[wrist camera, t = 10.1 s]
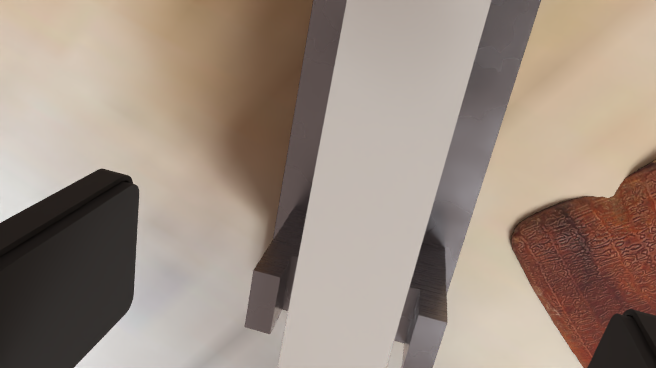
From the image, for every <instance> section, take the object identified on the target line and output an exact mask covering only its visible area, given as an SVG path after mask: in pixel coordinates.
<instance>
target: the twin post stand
mask: <svg viewBox="0 0 656 368" xmlns="http://www.w3.org/2000/svg"><path fill="white" fill-rule="evenodd" d="M540 2H541V0H491V4H490V7H489V11H488V14H487V18H486V21H485V25H484V28H483V32H482V35H481V39H480V42H479V46H478V49H477V53H476V56H475V60H474V63H473V67H472V70H471V74H470V77H469V81H468V84H467V88H466V91H465V95H464V98H463V102H462V105H461V109H460V112H459V116H458V119H457V123H456V126H455V130H454V133H453V137H452V140H451V144H450V147H449V151H448V154H447V158H446V161H445V165H444V168H443V172H442V175H441V179H440V182H439V186H438V189H437V193H436V196H435V200H434V203H433V207H432V210H431V214H430V217H429V221H428V224H427V228H426V231H425V235H424V238H423V242H422V245H421V249H420V252H419V256H418V259H417V262H416V266H415V269H414V273H413V276H412V280H411V283H410V287H409V290H408V294H407V297H406V301H405V304H404V308H403V311H402V315H401V318H400V322H399V325H398V329H397V332H396V336H395V339H394V341H398V342H402V343H404V350H403V361H402V368H433V365H434V362H435V358H436V355H437V352H438V349H439V346H440V343H441V340H442V337H443V334H444V331H445V328H446V325H447V297H446V295H447V291H448V288H449V285H450V282H451V279H452V276H453V273H454V270H455V267H456V263H457V260H458V257H459V254H460V251H461V248H462V245H463V242H464V239H465V235H466V232H467V229H468V226H469V223H470V220H471V217H472V214H473V210H474V207H475V204H476V201H477V198H478V195H479V192H480V189H481V186H482V182H483V179H484V176H485V173H486V170H487V167H488V164H489V161H490V158H491V154H492V151H493V148H494V145H495V142H496V139H497V136H498V133H499V130H500V126H501V123H502V120H503V117H504V114H505V111H506V108H507V105H508V102H509V98H510V95H511V92H512V89H513V86H514V83H515V80H516V77H517V73H518V70H519V67H520V64H521V61H522V58H523V55H524V52H525V49H526V45H527V42H528V39H529V36H530V33H531V30H532V27H533V24H534V21H535V17H536V14H537V11H538V8H539V5H540ZM346 3H347V0H313V6H312V12H311V18H310V23H309V29H308V35H307V41H306V47H305V53H304V59H303V65H302V71H301V77H300V83H299V89H298V95H297V101H296V106H295V112H294V118H293V124H292V130H291V136H290V142H289V148H288V154H287V160H286V166H285V172H284V178H283V183H282V189H281V195H280V201H279V207H278V213H277V219H276V225H275V231H274V237H273V241H272V242H271V244H270V246H269V247H268V249H267V250H266V252H265V253H264V255H263V257H262V258H261V260H260V261H259V263H258V264H257V266H256V267H255V269H254V271H253V277H252V284H251V290H250V297H249V303H248V309H247V316H246V322H245V327H246V328H250V329H254V330H257V331H261V332H264V333H268V334H270V333H271V331H272V329H273V327H274V325H275V323H276V321H277V319H278V317H279V315H280V313H281V310H282V309H283V310H286V311H288V309H289V304H290V298H291V293H292V288H293V283H294V277H295V272H296V267H297V261H298V256H299V251H300V246H301V240H302V235H303V230H304V224H305V219H306V214H307V209H308V203H309V198H310V193H311V188H312V182H313V177H314V172H315V166H316V161H317V156H318V151H319V145H320V140H321V135H322V129H323V124H324V119H325V114H326V108H327V103H328V98H329V92H330V87H331V82H332V77H333V71H334V66H335V61H336V55H337V50H338V45H339V40H340V34H341V29H342V24H343V18H344V13H345V8H346Z"/></svg>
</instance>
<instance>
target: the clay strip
mask: <svg viewBox="0 0 656 368" xmlns="http://www.w3.org/2000/svg"><path fill="white" fill-rule="evenodd" d="M490 4H491V0H347V3H346V8H345V13H344V18H343V24H342V29H341V34H340V40H339V45H338V50H337V55H336V61H335V66H334V71H333V77H332V82H331V87H330V92H329V98H328V103H327V108H326V114H325V119H324V124H323V129H322V135H321V140H320V145H319V151H318V156H317V161H316V166H315V172H314V177H313V182H312V188H311V193H310V198H309V203H308V209H307V214H306V219H305V224H304V230H303V235H302V240H301V246H300V251H299V256H298V261H297V267H296V272H295V277H294V283H293V288H292V293H291V298H290V304H289V309H288V314H287V320H286V325H285V330H284V335H283V341H282V346H281V351H280V357H279V362H278V367H277V368H386V367H387V364H388V360H389V357H390V353H391V350H392V346H393V343H394V339H395V336H396V332H397V329H398V325H399V322H400V318H401V315H402V311H403V308H404V304H405V301H406V297H407V294H408V290H409V287H410V283H411V280H412V276H413V273H414V269H415V266H416V262H417V259H418V256H419V252H420V249H421V245H422V242H423V238H424V235H425V231H426V228H427V224H428V221H429V217H430V214H431V210H432V207H433V203H434V200H435V196H436V193H437V189H438V186H439V182H440V179H441V175H442V172H443V168H444V165H445V161H446V158H447V154H448V151H449V147H450V144H451V140H452V137H453V133H454V130H455V126H456V123H457V119H458V116H459V112H460V109H461V105H462V102H463V98H464V95H465V91H466V88H467V84H468V81H469V77H470V74H471V70H472V67H473V63H474V60H475V56H476V53H477V49H478V46H479V42H480V39H481V35H482V32H483V28H484V25H485V21H486V18H487V14H488V11H489V7H490Z"/></svg>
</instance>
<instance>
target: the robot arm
mask: <svg viewBox="0 0 656 368" xmlns="http://www.w3.org/2000/svg"><path fill="white" fill-rule="evenodd" d="M138 205H139V189H138V186H137V185H135V184H133V182H132V178H131V177H130V176H128V175H124V174H121V173H117V172H113V171H109V170H105V169H99V170H97V171H95V172H93V173H91V174H89V175H88V176H86V177H84V178H82V179H80V180H78V181H77V182H75V183H73V184H71V185H69V186H67V187H66V188H64V189H62V190H60V191H58V192H56V193H55V194H53V195H51V196H49V197H47V198H45V199H43V200H42V201H40V202H38V203H36V204H34V205H32V206H31V207H29V208H27V209H25V210H23V211H21V212H20V213H18V214H16V215H14V216H12V217H10V218H8V219H7V220H5V221H3V222H1V223H0V368H74V367H75V366H76V365H77V364H78V363H79V362H80V361H81V359H82V358H83V357H84V356H85V355H86V354H87V353H88V352H89V351H90V350H91V349H92V348H93V347H94V346H95V345H96V344H97V343H98V342H99V341H100V340H101V339H102V338H103V337H104V336H105V335H106V334H107V333H108V331H109V330H110V329H111V328H112V327H113V326H114V325H115V324H116V323H117V322H118V321H119V320H120V319H121V318H122V317H123V316H124V315H125V314H126V313H127V311H128V310H129V308H130V306H131V303H132V300H133V295H134V278H135V259H136V241H137V223H138ZM587 368H656V315H652V314H648V313H644V312H641V311H637V310H633V309H628V310H626V311H625V312H624V313H623V314H622V315H621V314H618V313H617V314H614V315H613V316H612V318H611V319H610V321H609V323H608V325H607V327H606V329H605V332H604V334H603V336H602V338H601V340H600V342H599V344H598V346H597V348H596V351H595V353H594V355H593V357H592V359H591V361H590V363H589V365H588V367H587Z"/></svg>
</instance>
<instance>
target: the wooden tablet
mask: <svg viewBox="0 0 656 368" xmlns="http://www.w3.org/2000/svg"><path fill="white" fill-rule="evenodd" d="M511 243H512V249H513V251H514V252H515V255H516V257H517V259H518V260H519V262H520V264H521V266H522V268H523V270H524V272H525V274H526V276H527V278H528V280H529V282H530V284H531V286H532V288H533V289H534V291H535V293H536V295H537V296H538V298H539V299H540V301H541V303H542V304H543V306H544V307H545V309H546V311H547V312H548V314H549V315H550V317H551V319H552V321H553V323H554V324H555V326H556V327H557V328H558V330H559V331H560V333H561V335H562V336H563V338H564V339H565V341H566V342H567V344H568V345H569V347H570V349H571V350H572V352H573V353H574V354H575V355H576V357H577V358H578V360H579V362H580V363H581V365H582V366H583V367H584V368H587V367H588V365H589V363H590V361H591V359H592V357H593V355H594V353H595V351H596V348H597V346H598V344H599V342H600V340H601V338H602V336H603V334H604V332H605V329H606V327H607V325H608V323H609V321H610V319H611V318H612V316H613V315H614V314H617V313H618V314H621V315H622V314H623V313H624V312H625V311H626V310H628V309H633V310H637V311H641V312H644V313H648V314H652V315H656V160H655V161H653V162H651V163H649V164H647V165H646V166H644V167H642V168H641V169H639V170H637V171H636V172H634V173H633V174H631V175H629V176H628V177H627V178H626V179H624V181H623V182H622V183H621V184H620V186H619V188H618V190H617V191H616V193H615V195H614V196H613V197H610V198H605V197H593V196H591V197H582V198H575V199H571V200H568V201H564V202H561V203H559V204H557V205H554V206H551V207H549V208H547V209H544V210H542V211H540V212H537V213H535V214H534V215H532V216H530V217H528V218H527V219H525V220H523V221H521V222H520V223H519V224H518V225H517V227H516V228H515V230H514V233H513V235H512V238H511Z"/></svg>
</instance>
